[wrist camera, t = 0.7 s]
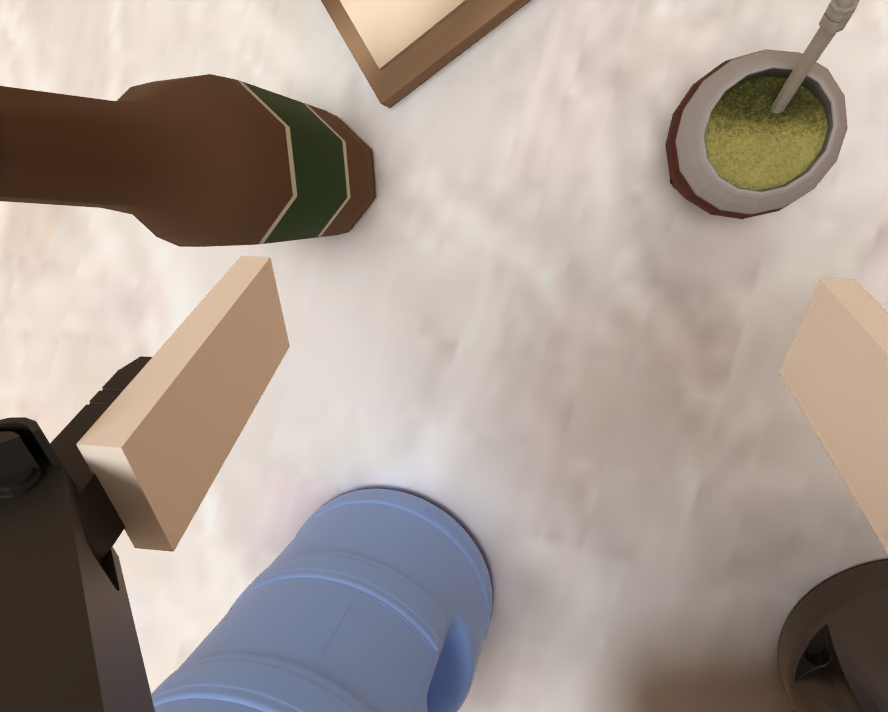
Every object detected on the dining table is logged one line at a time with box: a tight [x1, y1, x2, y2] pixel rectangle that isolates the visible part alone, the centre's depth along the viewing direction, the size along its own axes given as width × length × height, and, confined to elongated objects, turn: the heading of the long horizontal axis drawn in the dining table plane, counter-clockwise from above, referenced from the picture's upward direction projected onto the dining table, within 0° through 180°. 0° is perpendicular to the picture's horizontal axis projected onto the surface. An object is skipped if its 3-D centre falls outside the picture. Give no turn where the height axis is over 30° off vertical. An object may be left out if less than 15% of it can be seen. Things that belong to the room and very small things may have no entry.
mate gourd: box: [666, 0, 859, 219], centre depth 23 cm, size 8×8×15 cm
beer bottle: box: [0, 74, 375, 247], centre depth 25 cm, size 8×8×24 cm
